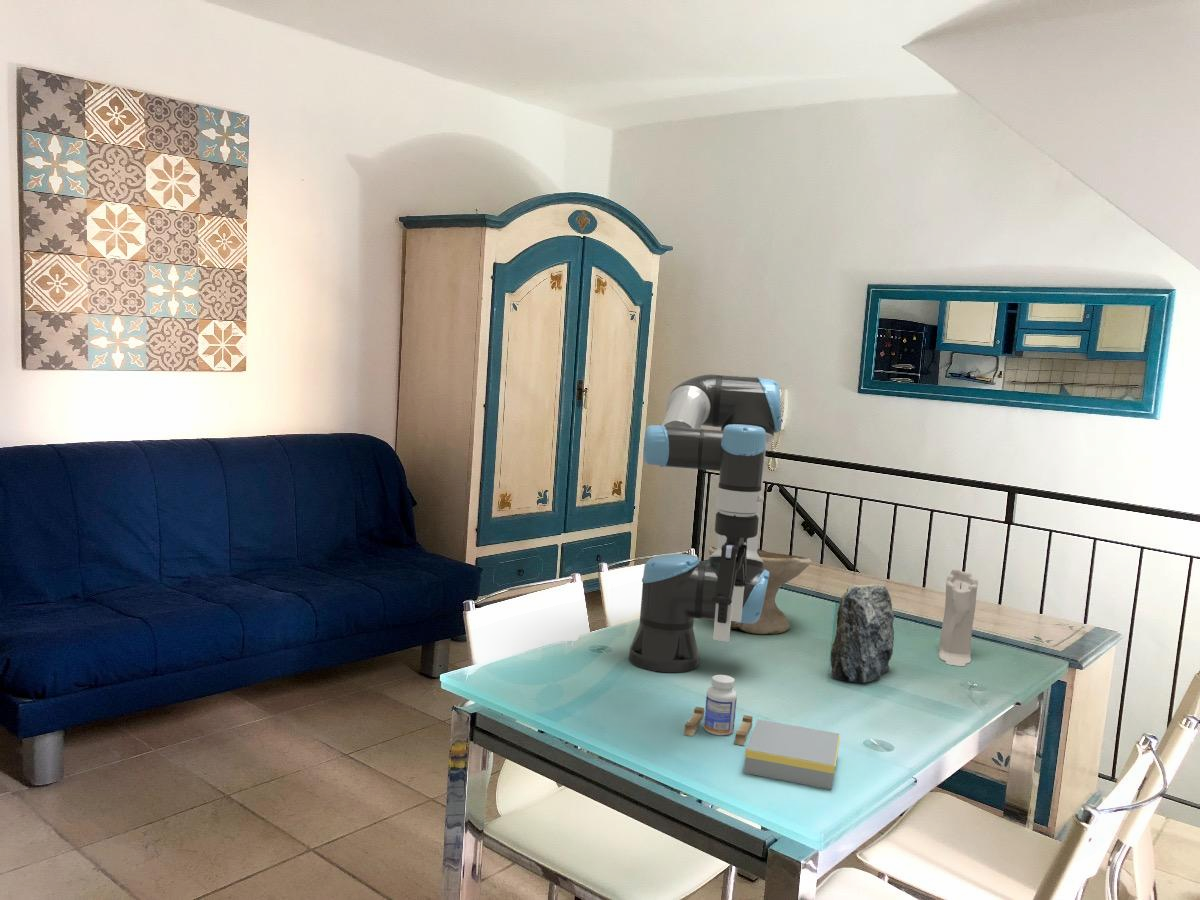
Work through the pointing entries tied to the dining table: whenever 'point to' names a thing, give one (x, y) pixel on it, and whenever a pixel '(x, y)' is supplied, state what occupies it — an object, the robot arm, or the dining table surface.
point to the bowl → (773, 591)
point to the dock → (792, 754)
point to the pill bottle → (720, 706)
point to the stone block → (863, 634)
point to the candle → (958, 618)
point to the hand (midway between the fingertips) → (727, 630)
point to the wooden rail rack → (698, 716)
